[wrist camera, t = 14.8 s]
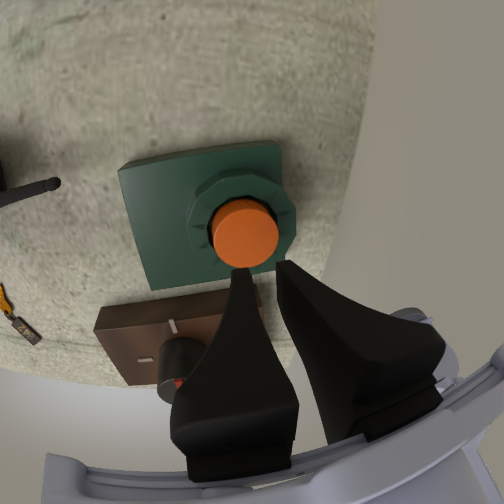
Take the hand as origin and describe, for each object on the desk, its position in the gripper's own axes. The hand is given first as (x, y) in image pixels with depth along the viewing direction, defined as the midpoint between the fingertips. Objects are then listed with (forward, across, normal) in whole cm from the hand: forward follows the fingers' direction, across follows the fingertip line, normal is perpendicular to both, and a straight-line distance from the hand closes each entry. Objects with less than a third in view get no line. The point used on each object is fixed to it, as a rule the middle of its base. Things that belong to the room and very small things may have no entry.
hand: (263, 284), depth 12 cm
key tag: (+10, +24, +7) cm, 27 cm away
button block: (+9, +2, 0) cm, 10 cm away
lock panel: (+9, +6, +11) cm, 16 cm away
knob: (+6, +6, +11) cm, 14 cm away
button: (+6, 0, 0) cm, 6 cm away
